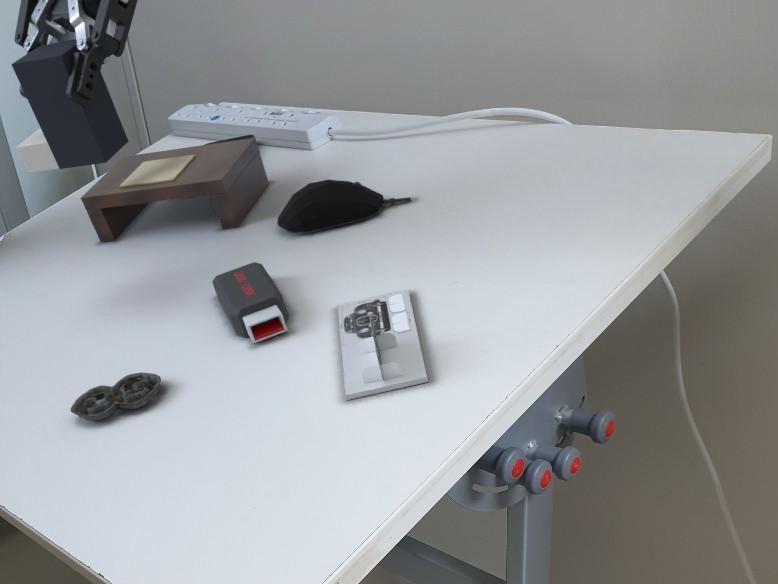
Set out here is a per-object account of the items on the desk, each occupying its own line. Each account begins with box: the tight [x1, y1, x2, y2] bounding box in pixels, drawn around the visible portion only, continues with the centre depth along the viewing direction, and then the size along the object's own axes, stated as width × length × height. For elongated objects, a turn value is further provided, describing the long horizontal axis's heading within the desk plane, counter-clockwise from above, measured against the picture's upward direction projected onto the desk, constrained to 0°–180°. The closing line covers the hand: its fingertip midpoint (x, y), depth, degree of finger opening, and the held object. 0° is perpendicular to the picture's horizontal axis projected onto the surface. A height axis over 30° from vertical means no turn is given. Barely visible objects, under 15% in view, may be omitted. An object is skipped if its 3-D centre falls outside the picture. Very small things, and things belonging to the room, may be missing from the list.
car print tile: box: [337, 289, 429, 401], centre depth 73 cm, size 15×7×4 cm, turn 6°
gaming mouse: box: [276, 179, 412, 234], centre depth 94 cm, size 6×15×4 cm, turn 93°
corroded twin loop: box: [70, 371, 162, 421], centre depth 75 cm, size 5×8×1 cm, turn 110°
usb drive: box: [211, 261, 290, 344], centre depth 82 cm, size 5×12×3 cm, turn 21°
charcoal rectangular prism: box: [11, 38, 129, 174], centre depth 79 cm, size 8×5×9 cm, turn 78°
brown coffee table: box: [80, 137, 270, 243], centre depth 104 cm, size 18×12×6 cm, turn 79°
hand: (54, 100), depth 77 cm, fingers closed on charcoal rectangular prism, 6 cm apart
